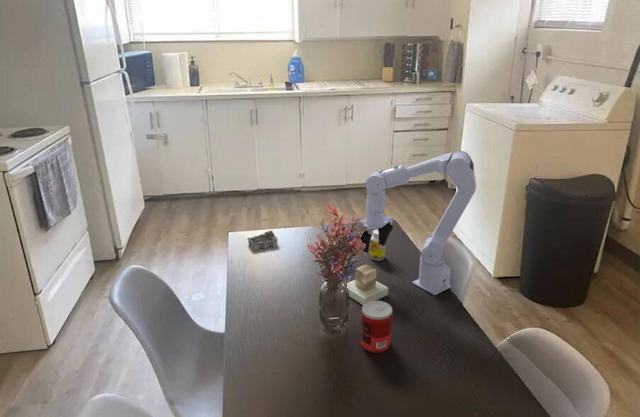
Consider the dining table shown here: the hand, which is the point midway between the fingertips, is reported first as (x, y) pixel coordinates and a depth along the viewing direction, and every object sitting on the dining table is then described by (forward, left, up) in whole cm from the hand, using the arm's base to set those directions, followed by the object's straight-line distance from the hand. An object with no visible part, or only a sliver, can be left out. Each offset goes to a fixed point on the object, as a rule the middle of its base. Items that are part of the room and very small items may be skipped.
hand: (373, 248), depth 155 cm
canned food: (-27, +25, -10) cm, 38 cm away
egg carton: (+42, +17, -10) cm, 47 cm away
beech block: (-7, +10, -7) cm, 14 cm away
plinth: (-7, +10, -10) cm, 16 cm away
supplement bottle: (+8, -10, -10) cm, 16 cm away
